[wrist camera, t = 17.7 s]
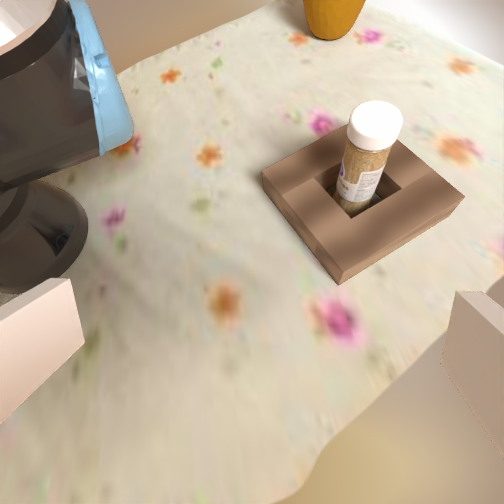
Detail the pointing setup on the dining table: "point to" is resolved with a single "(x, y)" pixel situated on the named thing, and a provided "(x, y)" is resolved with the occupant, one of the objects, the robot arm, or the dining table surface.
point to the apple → (331, 16)
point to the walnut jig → (368, 222)
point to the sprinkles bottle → (366, 154)
